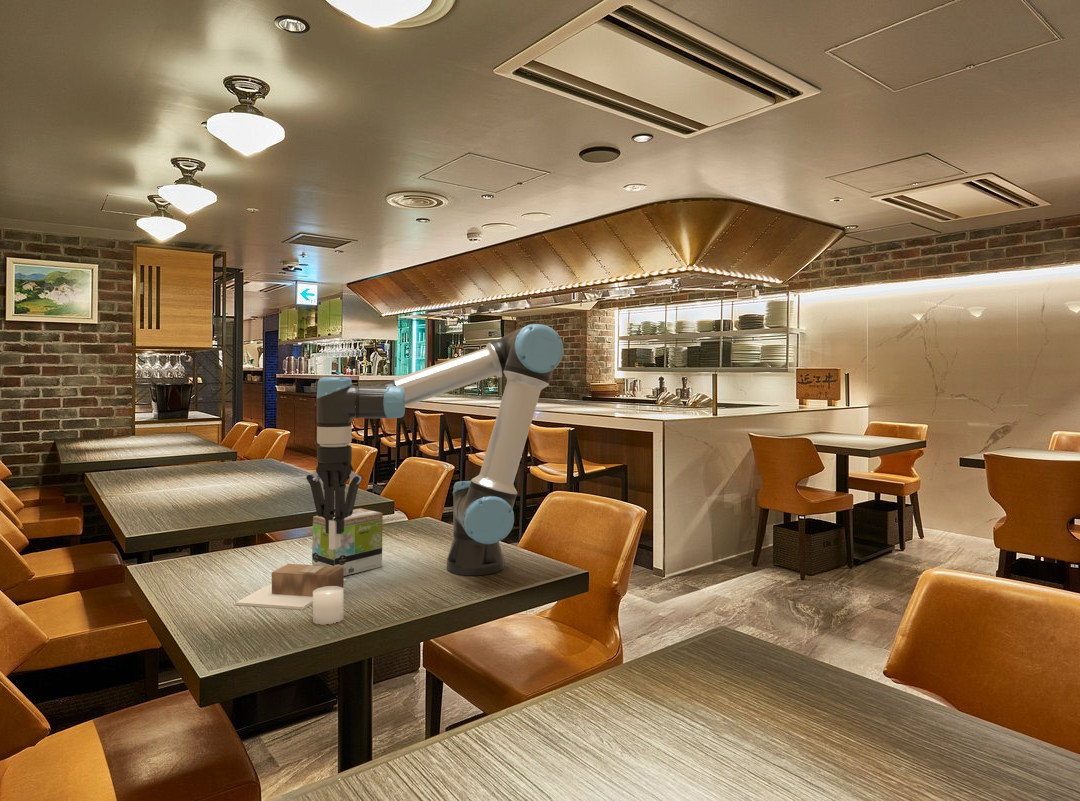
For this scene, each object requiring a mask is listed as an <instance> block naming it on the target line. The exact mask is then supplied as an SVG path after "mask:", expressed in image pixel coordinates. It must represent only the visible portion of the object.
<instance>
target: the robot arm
mask: <svg viewBox="0 0 1080 801" xmlns="http://www.w3.org/2000/svg"><path fill="white" fill-rule="evenodd" d="M563 357H564V344H563V340H562V338H561V336H560V335H559V334H558V332H557V331H556V330H555V329H554V328H552V327H550V326H548V325H545V324H541V323H539V324H538V323H531V324H527V325H526V326H524V327H520V328H516V330H513V331H512V332H510V333H508V334H506V335H504V336H502V337H500V338H498V339H495V340H493V341H491V342H490V341H489V342H487V344H486V346H485V348H482V349H478V350H476V351H473V352H470V353H469V352H468V353H467V354H464V355H461V356H458V357H455V358H452V359H449V360H446V361H443V362H441V363H437V364H434V365H432V366H431V365H430V366H428V367H426V368H423V369H419V370H416V371H414V372H411V373H408V374H405V375H402V376H399V377H397V378H396V377H395V378H394V379H391V380H387V381H384V382H381V383H379V384H373V385H362V386H361V385H360V386H359V385H355V384H354V385H353V383H352V382H353V381H352V378H350V376H349V377H346V376H345V377H343V376H342V377H340V376H339V377H337V376H333V377H332V376H331V377H330V376H325V377H323V376H322V377H320V378H319V379H318V380H317V388H316V423H317V424H316V427H317V428H316V443H317V444H318V446H317V448H316V461H317V466H316V468H315V471H313V472H312V473H311V474H308V475H306V477H305V479H306V480H307V482H308V484H309V486H310V490H311V494H312V498H313V502H314V507H315V511H316V516H319V517H323V518H324V519H325V521H326V533H328V534H329V549H337V548H339V547H340V546H341V534H342V533H343V532H344V519H345V518H347V517H349V516H351V515H352V513H353V510H354V508H355V503H356V500H357V494H358V490H359V486H360V484H361V482H362V481H363V479H364V477H363V475H361V474H357V473H356V472H354V468H353V466H352V460H353V456H352V455H353V451H352V446H351V443H352V440H353V439H352V436H353V435H352V434H353V433H352V432H353V431H352V430H353V429H352V422H353V421H352V420H353V419H388V420H391V419H400V418H403V417H404V416H405V411H406V407H407V406H411V405H413V404H417V403H419V402H422V401H426V400H428V399H432V398H433V397H437V396H440V395H443V394H446V393H449V392H451V391H454V390H458V389H460V388H463V387H467V386H468V385H471V384H475V383H477V382H480V381H483V380H487V379H489V378H491V377H494V376H495V377H497V378H503V377H505V378H506V384H505V386H504V391H503V394H502V397H501V401H500V404H499V407H498V411H497V413H496V414H497V415H496V417H495V421H494V424H493V428H492V431H491V435H490V438H489V441H488V445H487V449H486V452H485V455H484V458H483V462H482V463H481V464H482V465H481V468H480V472H479V474H478V475H476V476H475V477H472V479H471V480H462V481H455V483H454V484H453V491H452V498H453V513H452V515H453V520H452V521H453V525H452V526H453V527H452V528H453V531H452V532H453V533H452V534H453V539H452V542H451V545H450V548H449V552H448V555H447V558H446V570H447V571H448V572H449V573H452V574H456V575H461V576H486V575H492V574H496V573H498V572H500V571H502V570H503V569H505V556H504V552H503V550H502V548H501V544H500V541H503V540H504V539H505V538H506V537H508V536H509V534H510V533H511V531H512V529H513V526H514V523H515V514H514V510H513V509H514V505H515V502H516V498H517V495H518V491H517V489H516V488H515V484H514V483H515V479H516V477H517V476H516V475H517V473H518V469H519V466H520V462H521V459H522V455H523V452H524V449H525V445H526V442H527V439H528V435H529V432H530V428H531V425H532V422H533V418H534V414H535V411H536V408H537V405H538V401H539V397H540V394H541V391H542V390H544V389H545V388H547V387H549V386H550V383H551V379H552V375H553V372H554V370H556V368H557V367H558V366H559V364H560V363H561V361H562V359H563ZM320 480H321V481H322V484H323V486H322V484H321V481H320ZM348 480H349V482H350V483H349V486H348V490H347V494H346V486H347V482H348ZM323 490H324V491H323ZM323 492H324V493H323ZM334 513H335V515H334ZM333 517H335V518H334V519H333Z"/></svg>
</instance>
